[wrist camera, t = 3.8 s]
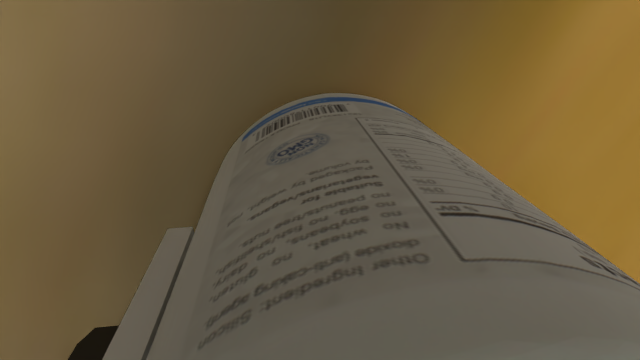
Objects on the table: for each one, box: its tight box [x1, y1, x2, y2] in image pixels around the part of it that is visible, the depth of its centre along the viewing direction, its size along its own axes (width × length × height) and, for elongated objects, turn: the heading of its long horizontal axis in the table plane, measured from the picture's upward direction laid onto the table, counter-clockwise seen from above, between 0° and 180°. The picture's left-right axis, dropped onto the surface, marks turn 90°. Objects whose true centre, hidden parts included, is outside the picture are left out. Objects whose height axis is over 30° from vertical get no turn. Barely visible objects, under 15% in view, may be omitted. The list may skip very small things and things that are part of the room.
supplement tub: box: [146, 93, 640, 360], centre depth 10 cm, size 10×10×15 cm
